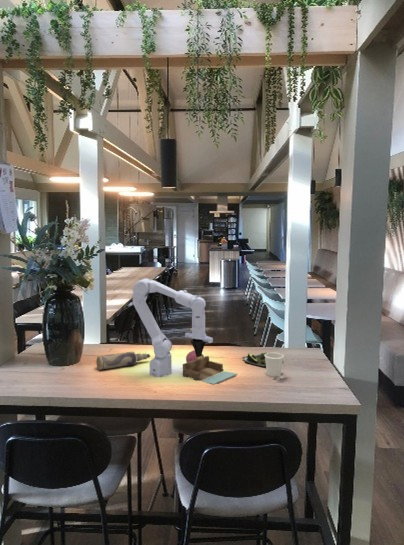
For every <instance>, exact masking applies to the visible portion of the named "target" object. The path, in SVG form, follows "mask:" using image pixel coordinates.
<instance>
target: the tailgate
mask: <svg viewBox="0 0 404 545" xmlns="http://www.w3.org/2000/svg"><path fill="white" fill-rule="evenodd" d="M237 376H238V373H236V372H235V373H234V372H229V371H224V370H223V372H221V373H218V374H216V375H213V376H211V377H208V378H206V379H203V380H201V382H203V383H206V384H210V385H213V386H214V385H219V384H222V383H224V382H226V381H229V380H231V379H233V378H235V377H237Z"/></svg>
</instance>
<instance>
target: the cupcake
mask: <svg viewBox="0 0 404 545" xmlns="http://www.w3.org/2000/svg"><path fill="white" fill-rule="evenodd" d="M202 357H205V355H204V354H203V353H202V356H200V357H196V353H195V350H191V351H189V352H188V353H187V354H186V356H185V361H186V362H185V363H187V362H190V361H193V360H196V359H199V358H202Z"/></svg>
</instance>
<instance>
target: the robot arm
mask: <svg viewBox="0 0 404 545" xmlns="http://www.w3.org/2000/svg"><path fill="white" fill-rule="evenodd" d="M151 293H159V294H162V295H164V296H167V297H169V298H172V299H174V300H175V303H177V304H179V305H182V306H183V307H186V308H189V309H191V310H192V311H191V312H192V314H191V332H185V334H184V337H185V338H186V339H192V340H191V341H190V343H191V345H192V347H193V349H194V350H195V353H196V357H200V356H202V354H203V352H204V351H203V350H204V348H205V346H206V344H207V343H208V344H211V343H214V338H213V337H211V336H208V335H207V333H206V310H205V307H206V306H207V304H206V300H205V298H202V296H198V295H196V294H195V295H193V294H191V293H189V292H188V290H186V289H184V290H181V289H180V290H178V291H177V290H175V289H173V288H171V287H169V286H167V285H166V284H162V283H161V282H159V281H156V280H154V279H150V278H148V277H143V278H142V279H141V280H138V281H136V282H135V283H134V284H133V287H132V304H133V306H134V308H135V311H136V312H137V313H138V316H139V318H140V320H141V321H142V323H143V326H144V327H145V329H146V331H147V333H148V335H149V337H150V339H151V345H152V347H153V353H154V358H152V359H151V360H150V361H149V376H153V377H156V378H161V377H164V376H169V375H171V374H172V368H173V367H172V353H171V351H172V348H173V343H172V341H171V340H170V339H169V338H167V337H166V335H165V334H164V333H163V332H162V330H161V329H160V327H159V325H158V322H157V321H156V319H155V317H154V315H153V313H152V310H150V308H149V305H148V304H147V302H146V301H147V299H148V295H149V294H151Z"/></svg>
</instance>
